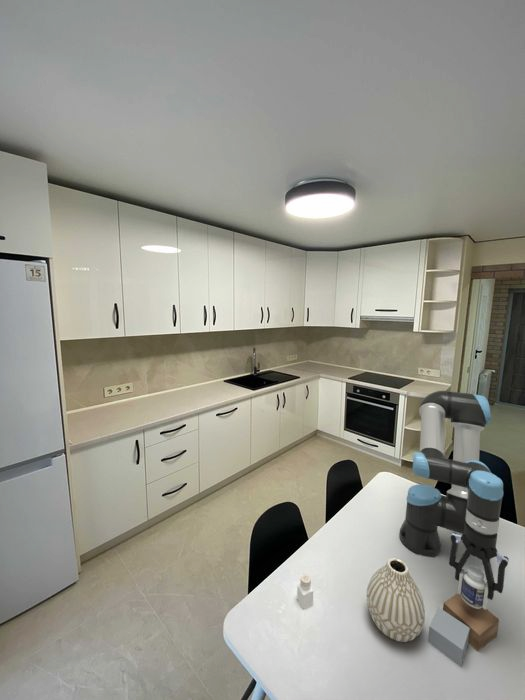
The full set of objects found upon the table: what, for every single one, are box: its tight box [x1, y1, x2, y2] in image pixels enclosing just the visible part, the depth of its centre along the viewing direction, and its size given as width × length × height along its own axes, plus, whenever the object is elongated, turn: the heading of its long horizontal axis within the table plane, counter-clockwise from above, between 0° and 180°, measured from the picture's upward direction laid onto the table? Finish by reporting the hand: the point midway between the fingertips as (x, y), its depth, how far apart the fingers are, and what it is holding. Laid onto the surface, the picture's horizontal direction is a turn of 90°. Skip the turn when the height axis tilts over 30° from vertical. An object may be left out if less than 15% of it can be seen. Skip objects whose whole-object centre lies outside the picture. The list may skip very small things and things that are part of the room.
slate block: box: [427, 606, 470, 667], centre depth 82 cm, size 8×8×6 cm
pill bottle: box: [461, 565, 486, 609], centre depth 85 cm, size 5×5×10 cm
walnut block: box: [442, 592, 500, 652], centre depth 87 cm, size 10×10×6 cm
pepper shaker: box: [296, 573, 314, 610], centre depth 93 cm, size 4×4×10 cm
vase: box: [366, 557, 426, 643], centre depth 86 cm, size 16×16×20 cm
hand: (472, 597), depth 86 cm, fingers closed on pill bottle, 5 cm apart
